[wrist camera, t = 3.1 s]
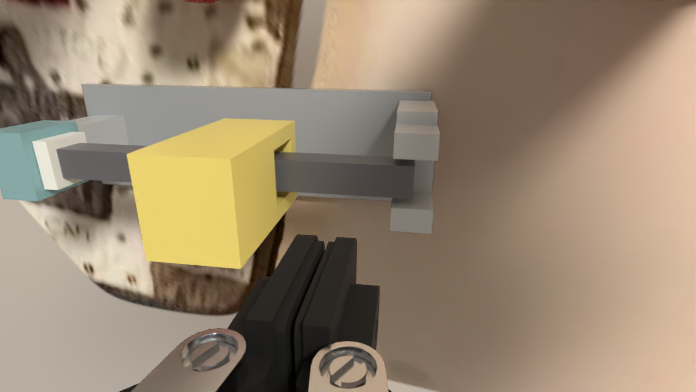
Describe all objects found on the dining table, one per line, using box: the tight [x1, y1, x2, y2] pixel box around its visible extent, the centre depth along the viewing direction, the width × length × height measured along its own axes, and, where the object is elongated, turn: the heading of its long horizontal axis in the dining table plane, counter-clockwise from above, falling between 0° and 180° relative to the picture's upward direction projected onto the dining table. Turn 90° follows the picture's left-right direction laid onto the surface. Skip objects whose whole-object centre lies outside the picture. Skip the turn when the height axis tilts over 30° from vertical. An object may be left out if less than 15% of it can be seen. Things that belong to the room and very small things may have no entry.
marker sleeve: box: [127, 118, 297, 269], centre depth 19 cm, size 4×4×8 cm
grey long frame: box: [0, 84, 440, 234], centre depth 23 cm, size 23×7×8 cm, turn 89°
